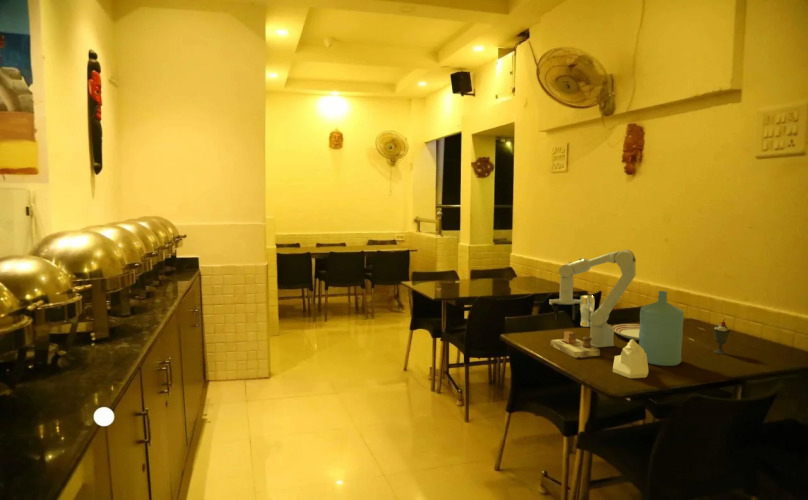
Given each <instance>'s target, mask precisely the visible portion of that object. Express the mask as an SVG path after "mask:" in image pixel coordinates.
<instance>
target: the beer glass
mask: <svg viewBox="0 0 808 500" xmlns="http://www.w3.org/2000/svg"><path fill="white" fill-rule="evenodd" d="M579 300H583V304H582V305H581V307H580V309H579V311H580V324H579V325H580V326H581V327H584V328H591V321H590V316H591V314H592V313H594V312H595V303H596V302H595V296H593V295H588V294H583V295H580V299H579Z"/></svg>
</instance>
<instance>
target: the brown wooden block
mask: <svg viewBox="0 0 808 500" xmlns="http://www.w3.org/2000/svg"><path fill="white" fill-rule="evenodd" d="M563 333H564V334H563V339H564V343H566V344H574V343H576V339H577V333H576V332H574V331H572V330H568V331H563Z"/></svg>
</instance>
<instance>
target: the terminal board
mask: <svg viewBox="0 0 808 500" xmlns="http://www.w3.org/2000/svg"><path fill="white" fill-rule="evenodd" d="M582 340H583V341H582ZM582 340H580V339H578V338H576V343H574V344H566V343H564V338H558V339H550V347H552V348H555V349H557V350H559V351H560V352H562V353H563V354H566V355H568V356H570V357H572V358H573V357H574V359H577V358H578V357H580V358H587V357H588V358H589V357H596V356H597V357H598V356H599V357H600V356H601V350H600V348H599V347H598V348H596V347H594V346H592V345H591V340H592V338H591V337H590V336H583V337H582Z"/></svg>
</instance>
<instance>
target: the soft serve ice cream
mask: <svg viewBox="0 0 808 500" xmlns="http://www.w3.org/2000/svg"><path fill="white" fill-rule="evenodd" d="M612 373H614V374H616V375H620V376H621V377H625V378H628V379H641V378H643V379H644V378H647V377H648V375H649V363H648V362H647V355H646V353H645V352H644V349H643V348H642V347H641V346H640V345H639V343H637V341H635V340H634V339H632V340H631V339H629V342H627V345H626V346H624V347H623V348H622V350H621V353H620V355H614V359H613V365H612Z"/></svg>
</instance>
